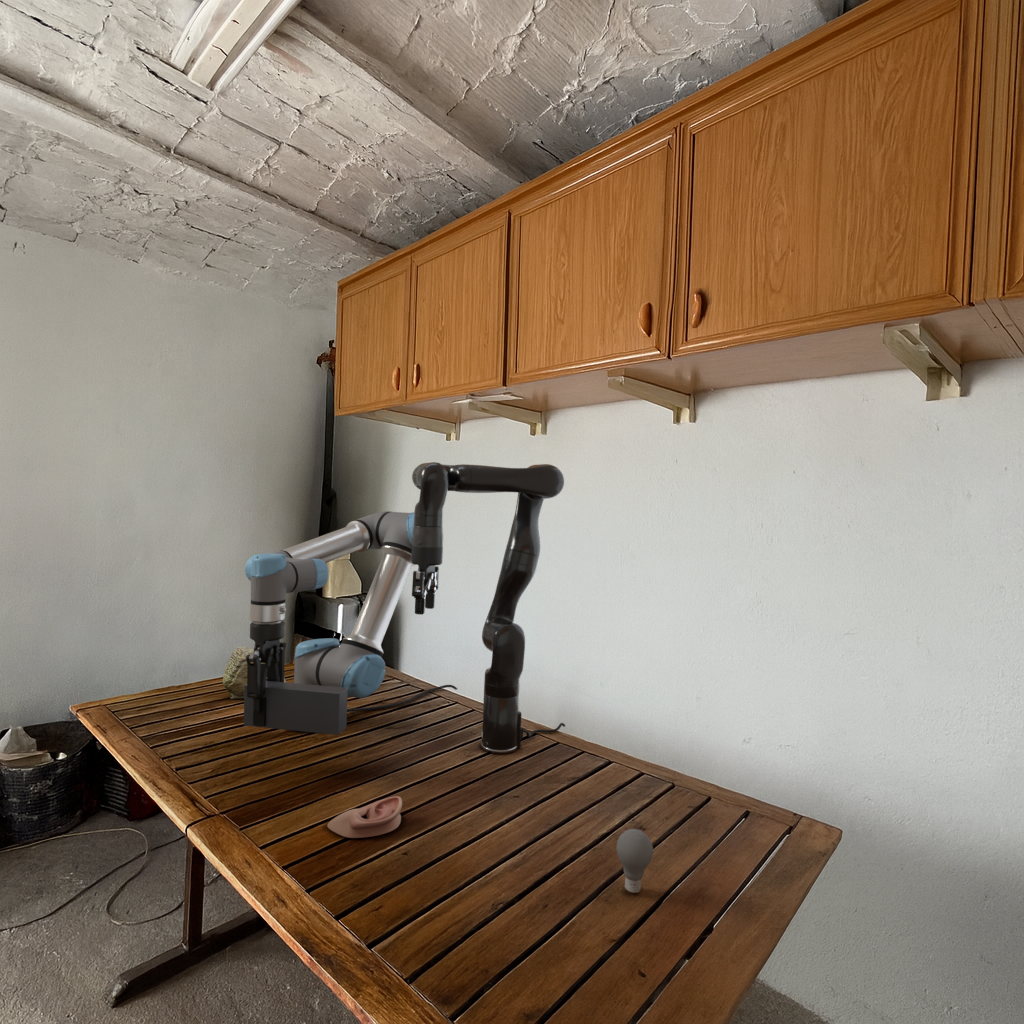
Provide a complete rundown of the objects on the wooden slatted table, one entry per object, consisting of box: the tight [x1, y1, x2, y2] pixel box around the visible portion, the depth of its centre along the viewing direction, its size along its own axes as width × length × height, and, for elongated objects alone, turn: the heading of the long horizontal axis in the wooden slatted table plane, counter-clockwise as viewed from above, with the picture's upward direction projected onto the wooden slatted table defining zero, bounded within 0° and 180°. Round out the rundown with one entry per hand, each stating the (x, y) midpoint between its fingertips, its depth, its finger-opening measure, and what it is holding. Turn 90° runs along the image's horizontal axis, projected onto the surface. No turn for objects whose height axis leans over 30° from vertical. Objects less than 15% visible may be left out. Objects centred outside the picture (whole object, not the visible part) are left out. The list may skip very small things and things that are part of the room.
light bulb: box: [615, 828, 654, 894], centre depth 106 cm, size 6×6×10 cm
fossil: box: [222, 646, 287, 699], centre depth 198 cm, size 9×18×15 cm, turn 132°
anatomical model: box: [327, 795, 403, 839], centre depth 123 cm, size 13×4×12 cm
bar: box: [243, 681, 348, 736], centre depth 145 cm, size 23×4×9 cm, turn 81°
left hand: (265, 721), depth 146 cm, fingers closed on bar, 4 cm apart
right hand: (424, 611), depth 154 cm, fingers open, 8 cm apart
